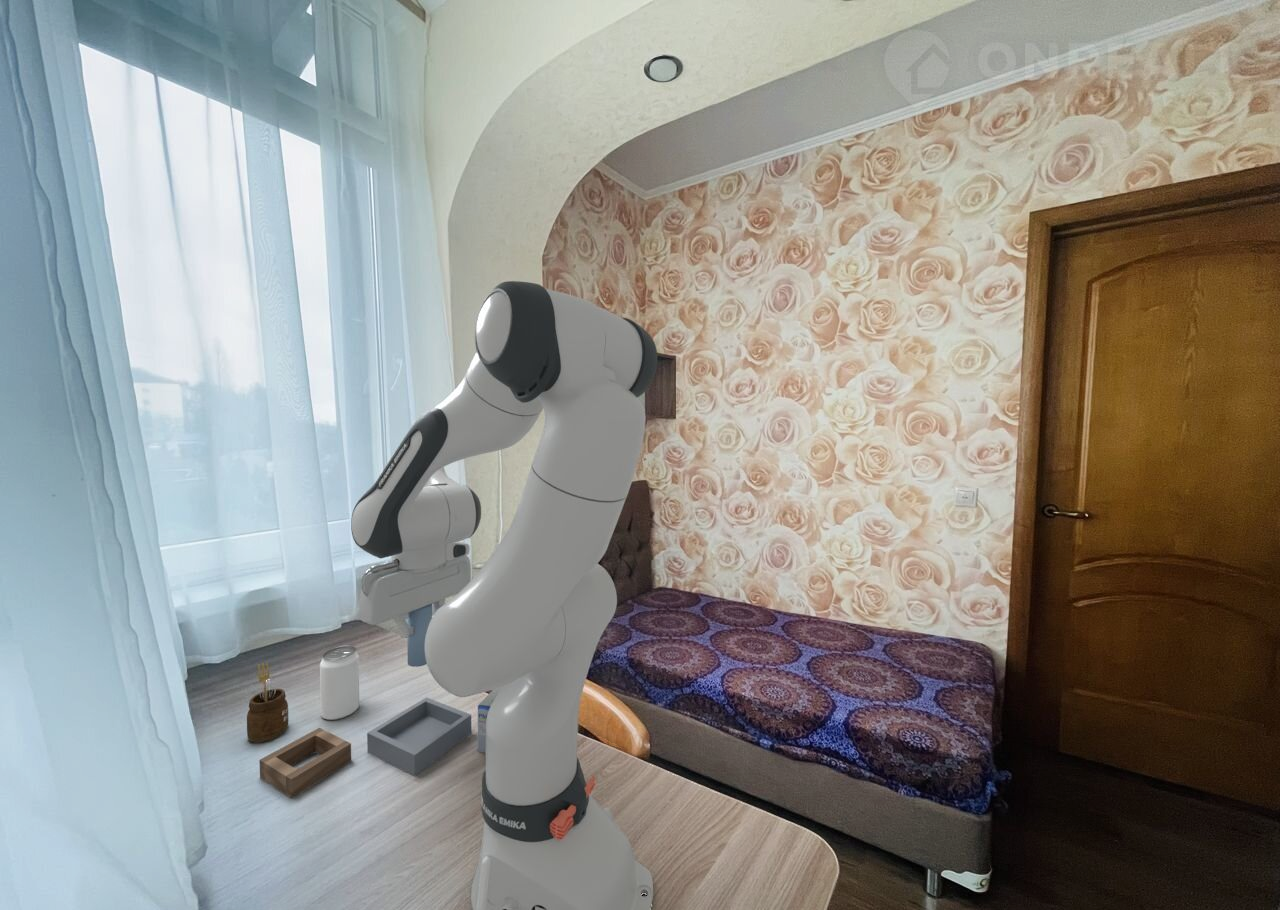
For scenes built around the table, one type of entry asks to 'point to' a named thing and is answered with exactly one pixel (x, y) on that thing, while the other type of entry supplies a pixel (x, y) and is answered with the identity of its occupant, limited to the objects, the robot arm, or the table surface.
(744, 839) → the table surface
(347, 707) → the can
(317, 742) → the collar
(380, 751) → the tray
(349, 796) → the table surface
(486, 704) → the medicine box
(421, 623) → the dowel
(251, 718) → the utensil holder
